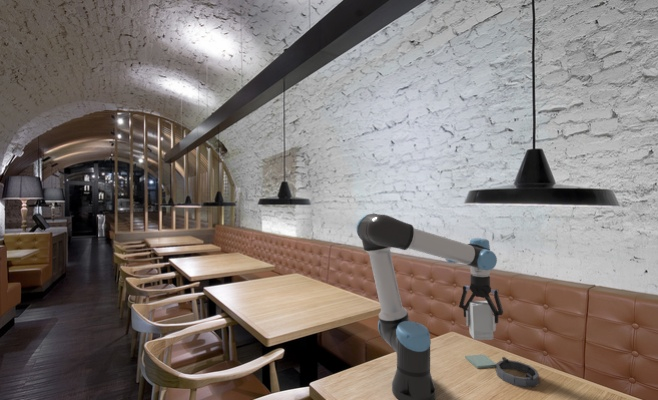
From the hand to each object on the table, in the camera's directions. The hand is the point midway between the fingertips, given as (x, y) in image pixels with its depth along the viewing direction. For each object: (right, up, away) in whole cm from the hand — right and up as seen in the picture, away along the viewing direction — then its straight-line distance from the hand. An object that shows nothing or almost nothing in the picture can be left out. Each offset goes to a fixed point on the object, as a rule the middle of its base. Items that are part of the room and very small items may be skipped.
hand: (480, 327), depth 136 cm
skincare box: (0, -4, 0) cm, 4 cm away
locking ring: (+9, -15, -12) cm, 21 cm away
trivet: (0, -15, 0) cm, 15 cm away
